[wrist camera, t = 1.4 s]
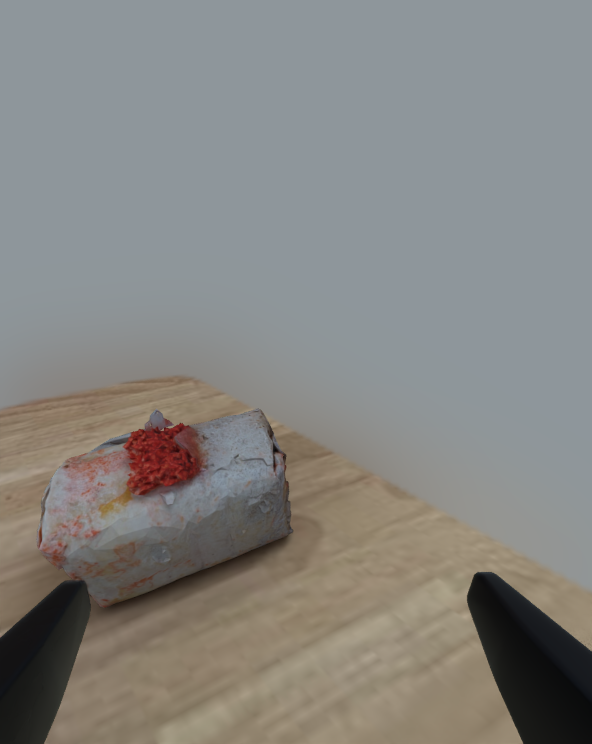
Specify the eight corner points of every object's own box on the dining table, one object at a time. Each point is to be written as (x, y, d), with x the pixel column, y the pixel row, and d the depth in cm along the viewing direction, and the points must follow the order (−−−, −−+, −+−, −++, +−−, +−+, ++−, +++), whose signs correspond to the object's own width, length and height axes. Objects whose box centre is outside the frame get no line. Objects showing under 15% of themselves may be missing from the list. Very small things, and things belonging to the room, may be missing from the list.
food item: (79, 639, 20) (-9, 554, 14) (85, 518, 26) (25, 422, 20) (300, 547, 24) (303, 453, 19) (263, 461, 30) (256, 368, 24)
